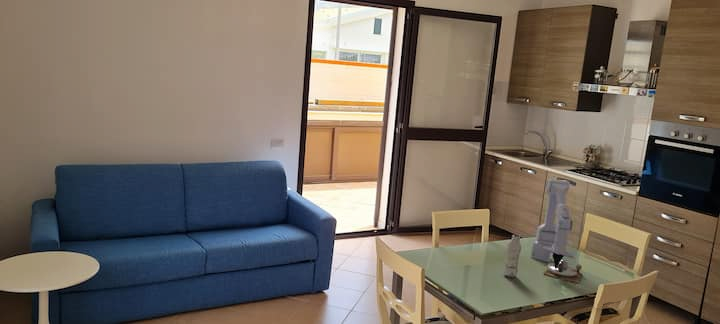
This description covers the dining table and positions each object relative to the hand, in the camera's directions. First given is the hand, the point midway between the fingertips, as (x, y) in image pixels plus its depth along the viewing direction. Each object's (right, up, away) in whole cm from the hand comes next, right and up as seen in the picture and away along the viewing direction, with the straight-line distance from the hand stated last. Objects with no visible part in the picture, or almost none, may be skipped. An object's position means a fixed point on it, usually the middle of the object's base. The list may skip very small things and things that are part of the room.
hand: (555, 268), depth 270 cm
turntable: (+4, -3, +5) cm, 7 cm away
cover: (+4, -1, +4) cm, 6 cm away
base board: (+5, -4, +4) cm, 7 cm away
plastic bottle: (-25, -2, -7) cm, 26 cm away
